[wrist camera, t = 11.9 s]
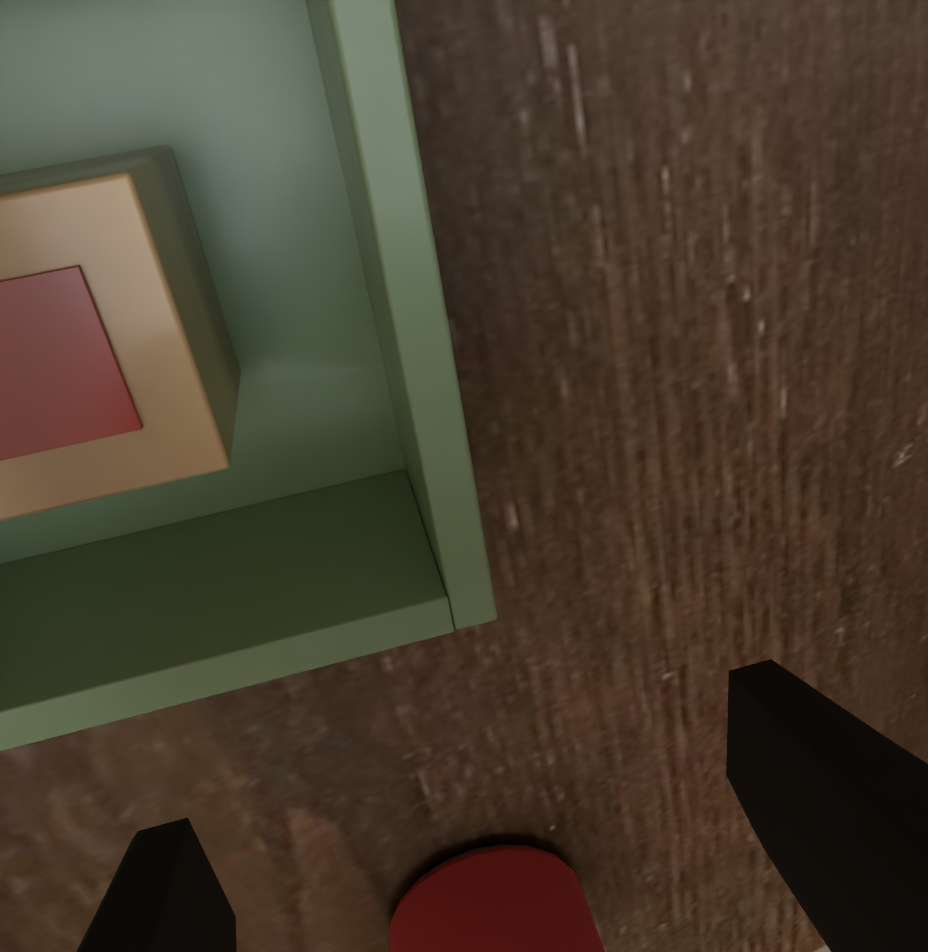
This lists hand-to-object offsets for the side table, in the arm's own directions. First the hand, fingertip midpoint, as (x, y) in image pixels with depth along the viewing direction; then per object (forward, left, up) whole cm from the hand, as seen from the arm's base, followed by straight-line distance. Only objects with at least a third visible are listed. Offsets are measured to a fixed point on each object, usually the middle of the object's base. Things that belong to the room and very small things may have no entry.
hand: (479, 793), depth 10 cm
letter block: (+5, -6, -9) cm, 11 cm away
